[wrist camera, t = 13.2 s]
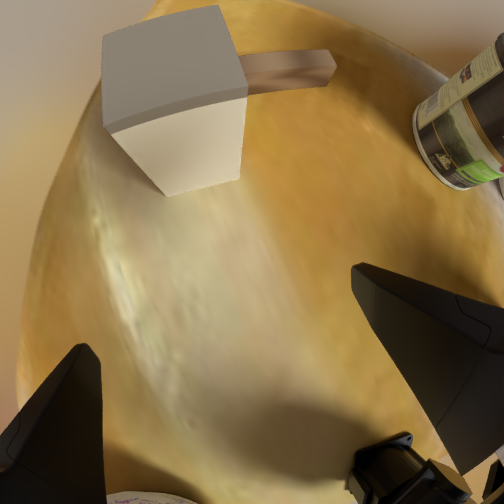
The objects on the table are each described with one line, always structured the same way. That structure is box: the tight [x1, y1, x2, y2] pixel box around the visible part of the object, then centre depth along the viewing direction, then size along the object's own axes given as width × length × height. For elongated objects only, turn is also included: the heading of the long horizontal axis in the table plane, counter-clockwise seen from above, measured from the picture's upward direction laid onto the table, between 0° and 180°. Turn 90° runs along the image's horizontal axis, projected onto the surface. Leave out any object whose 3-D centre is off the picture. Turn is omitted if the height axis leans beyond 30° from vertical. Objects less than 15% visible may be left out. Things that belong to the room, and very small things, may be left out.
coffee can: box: [412, 33, 504, 190], centre depth 16 cm, size 10×10×14 cm
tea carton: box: [101, 5, 248, 198], centre depth 15 cm, size 6×6×12 cm
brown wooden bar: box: [238, 49, 337, 95], centre depth 20 cm, size 18×3×3 cm, turn 104°
